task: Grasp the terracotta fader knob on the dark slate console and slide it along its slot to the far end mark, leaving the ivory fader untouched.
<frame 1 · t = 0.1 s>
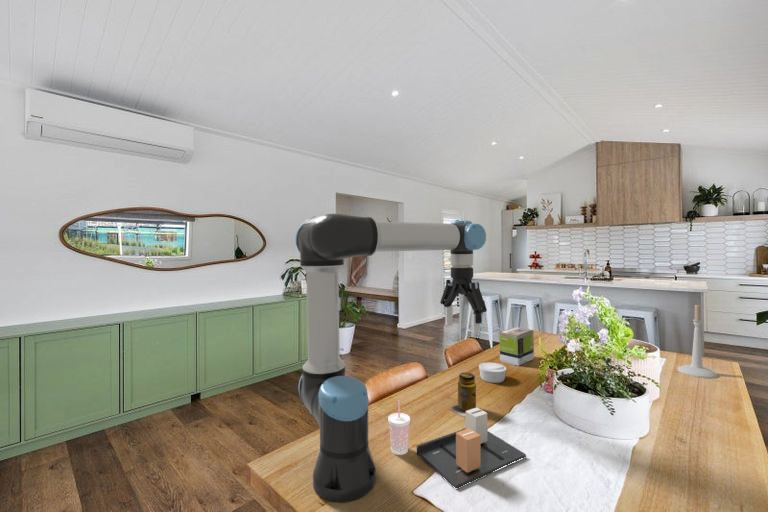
hand: (462, 328, 120), 28 cm above the table, fingers open, 13 cm apart
candlestick: (696, 373, 153), on the table
tea box: (516, 360, 171), on the table
condiment: (464, 410, 121), on the table
fader terracotta: (468, 449, 88), point 6 cm above the table, slide at -4.5 cm
beverage cup: (399, 450, 97), on the table
ramekin: (492, 379, 148), on the table
fader ivory: (476, 425, 99), point 6 cm above the table, slide at 3.0 cm
console: (470, 456, 94), on the table
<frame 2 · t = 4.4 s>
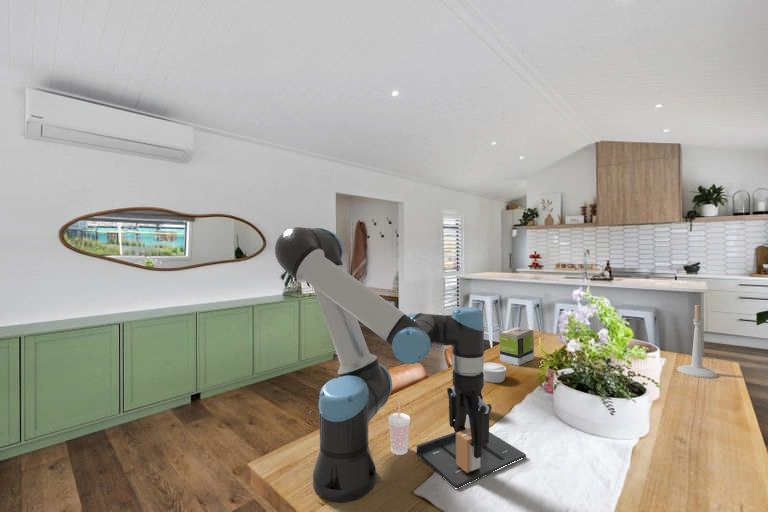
hand: (468, 463, 88), 2 cm above the table, fingers closed on fader terracotta, 4 cm apart
fader terracotta: (468, 449, 88), point 6 cm above the table, slide at -4.5 cm, touching gripper
everything else where it was.
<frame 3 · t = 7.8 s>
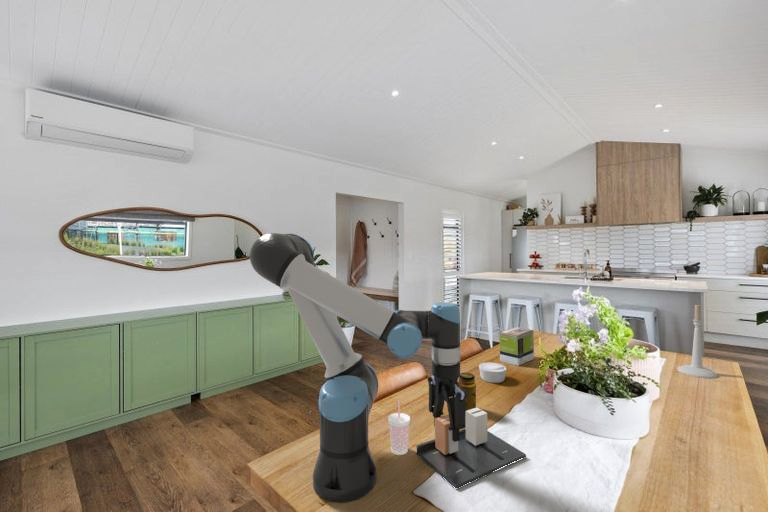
hand: (446, 445, 95), 2 cm above the table, fingers open, 5 cm apart
fader terracotta: (446, 433, 95), point 6 cm above the table, slide at 4.0 cm
everything else where it was.
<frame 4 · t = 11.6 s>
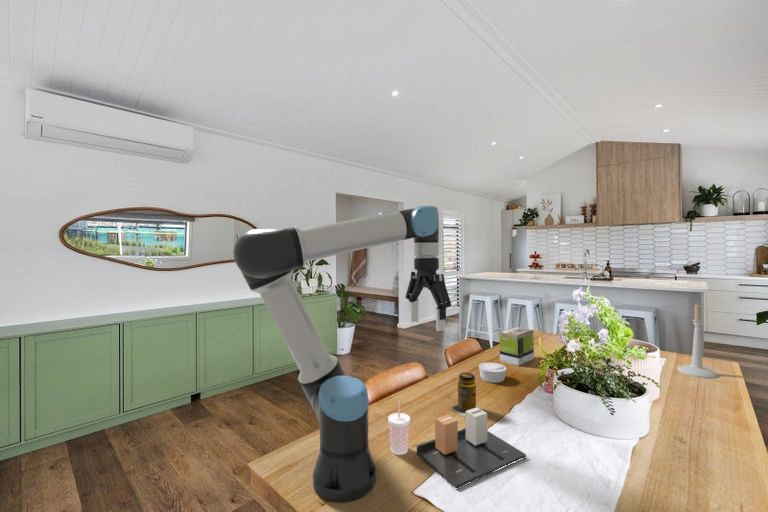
hand: (426, 325, 108), 32 cm above the table, fingers open, 13 cm apart
nothing on the table moved.
at the end: fader terracotta slide at 4.0 cm; fader ivory slide at 3.0 cm; the gripper is holding nothing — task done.
